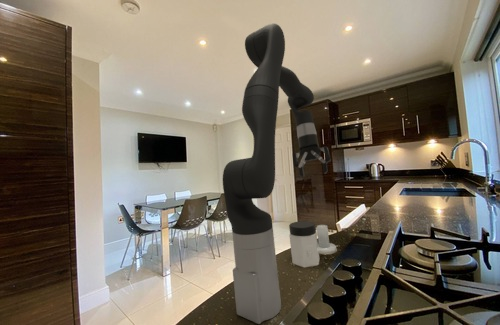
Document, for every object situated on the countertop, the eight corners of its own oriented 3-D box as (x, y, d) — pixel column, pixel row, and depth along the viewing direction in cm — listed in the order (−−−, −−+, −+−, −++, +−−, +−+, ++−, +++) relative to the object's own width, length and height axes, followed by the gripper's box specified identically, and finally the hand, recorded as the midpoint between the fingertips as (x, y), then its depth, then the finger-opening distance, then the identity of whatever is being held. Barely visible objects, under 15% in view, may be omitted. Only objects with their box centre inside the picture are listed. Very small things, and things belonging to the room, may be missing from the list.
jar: (297, 270, 61) (292, 229, 62) (288, 259, 69) (284, 223, 70) (325, 265, 62) (321, 225, 63) (314, 255, 70) (309, 219, 71)
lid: (332, 255, 68) (329, 230, 68) (310, 251, 72) (307, 228, 73) (339, 247, 74) (336, 224, 74) (318, 244, 78) (315, 222, 79)
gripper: (287, 138, 85) (294, 177, 82) (323, 129, 78) (331, 171, 76) (293, 142, 91) (299, 178, 89) (326, 133, 85) (334, 172, 82)
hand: (314, 175), depth 82 cm, fingers open, 8 cm apart
